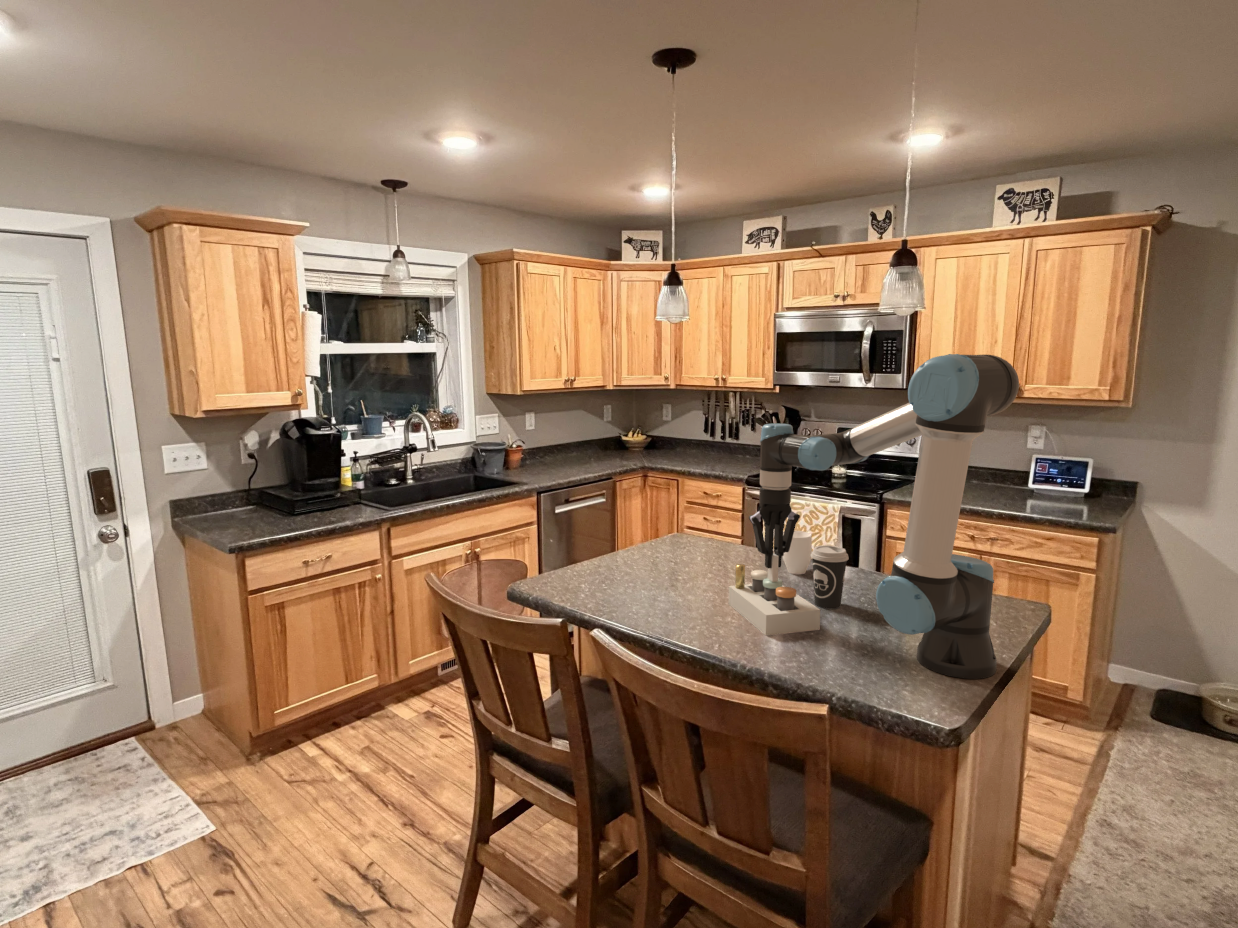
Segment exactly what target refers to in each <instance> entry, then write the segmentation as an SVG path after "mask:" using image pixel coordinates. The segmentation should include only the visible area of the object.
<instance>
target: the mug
mask: <svg viewBox="0 0 1238 928" xmlns="http://www.w3.org/2000/svg"><path fill="white" fill-rule="evenodd" d="M783 535H784V531H783ZM812 540H813V539H812V533H810V532H808V531H802V530H794V534H793V538H792V542H791V546H790V549H789V552H785V553H784V555H783V556H782V560H783V562H784V565H785V567H786V569H787V572H788V573H789V574H791V575H804V574H806V572H807V570H808V567H809V565H810V563H811V561H812V557H811V556H810V555H811V553H812V551H813V546H812V544H813V543H812V542H813V541H812Z"/></svg>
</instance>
